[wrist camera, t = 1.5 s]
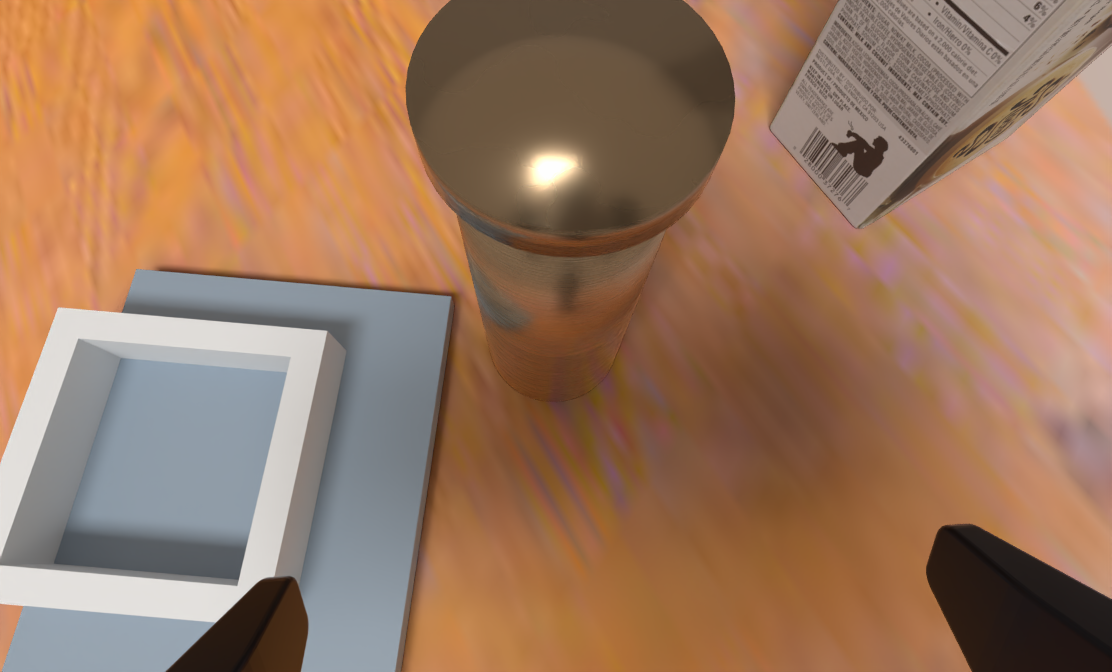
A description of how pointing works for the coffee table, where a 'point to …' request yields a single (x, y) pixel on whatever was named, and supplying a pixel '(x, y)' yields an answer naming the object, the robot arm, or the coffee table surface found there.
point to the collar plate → (221, 470)
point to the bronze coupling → (566, 163)
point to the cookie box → (927, 89)
